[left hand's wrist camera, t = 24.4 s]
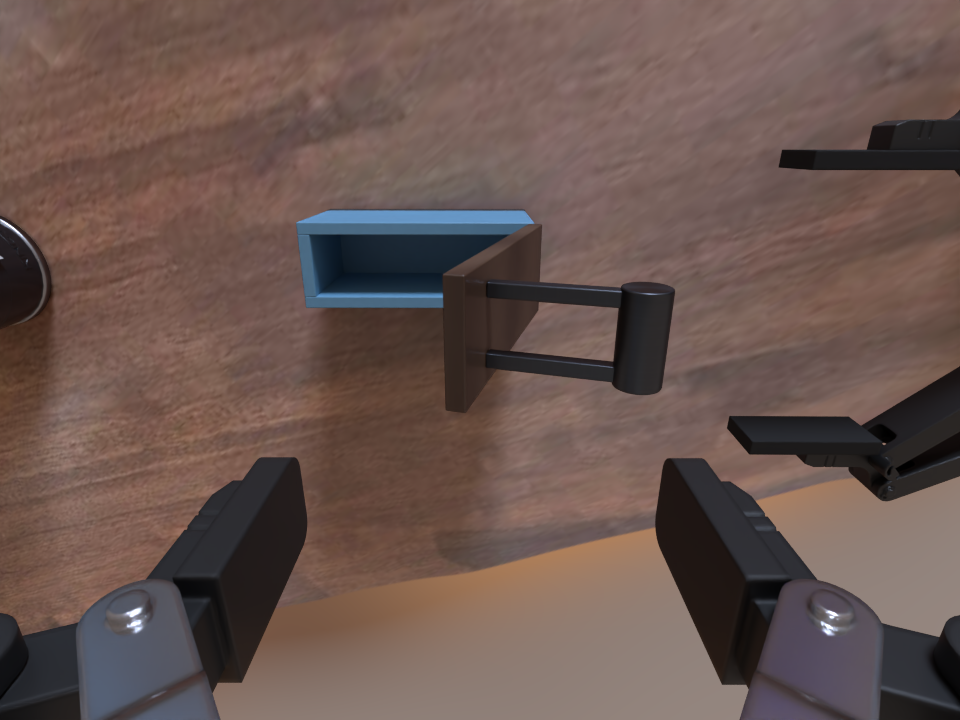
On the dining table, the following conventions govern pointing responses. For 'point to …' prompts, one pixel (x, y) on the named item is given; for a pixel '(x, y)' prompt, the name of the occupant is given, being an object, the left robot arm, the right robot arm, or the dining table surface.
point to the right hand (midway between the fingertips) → (763, 310)
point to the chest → (393, 253)
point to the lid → (514, 302)
